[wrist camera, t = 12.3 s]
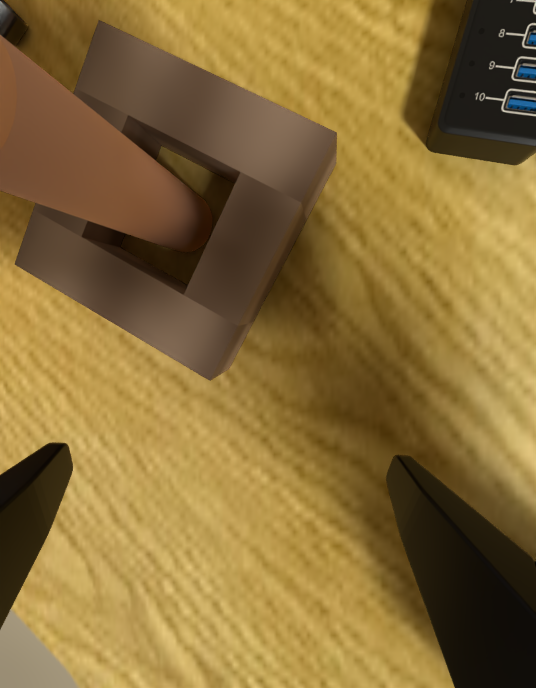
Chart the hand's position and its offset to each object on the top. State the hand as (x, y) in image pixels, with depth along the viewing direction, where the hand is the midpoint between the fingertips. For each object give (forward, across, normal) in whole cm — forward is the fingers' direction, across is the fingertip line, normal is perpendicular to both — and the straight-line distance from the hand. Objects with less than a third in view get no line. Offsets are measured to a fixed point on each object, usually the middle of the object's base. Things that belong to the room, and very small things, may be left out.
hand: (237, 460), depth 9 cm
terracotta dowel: (+13, +4, -4) cm, 14 cm away
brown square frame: (+13, +4, -4) cm, 14 cm away
